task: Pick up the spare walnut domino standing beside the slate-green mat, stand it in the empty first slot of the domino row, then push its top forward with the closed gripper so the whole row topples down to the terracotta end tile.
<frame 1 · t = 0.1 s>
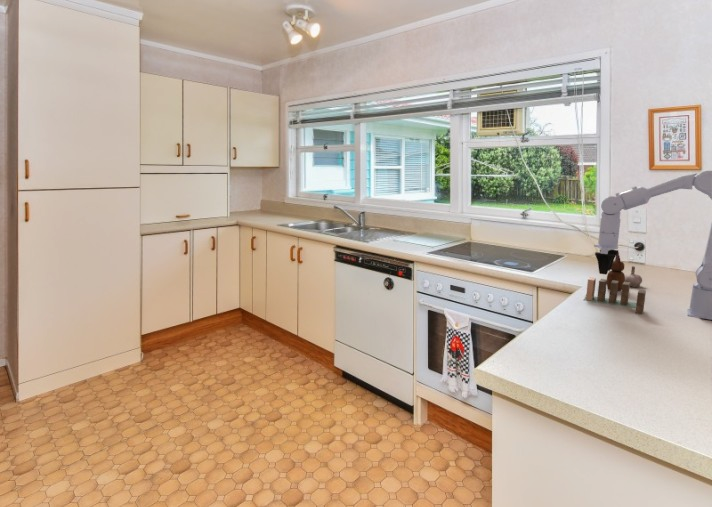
hand: (604, 272, 147), 10 cm above the countertop, tool pointing down, fingers open, 7 cm apart
garlic bulb: (630, 286, 171), on the countertop
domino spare: (639, 313, 135), on the countertop
domino 3: (612, 301, 146), resting on mat
domino 4: (601, 300, 148), resting on mat
domino end: (589, 298, 150), resting on mat
wooden figurine: (614, 290, 163), on the countertop
mat: (612, 302, 146), on the countertop
domino 2: (624, 303, 144), resting on mat
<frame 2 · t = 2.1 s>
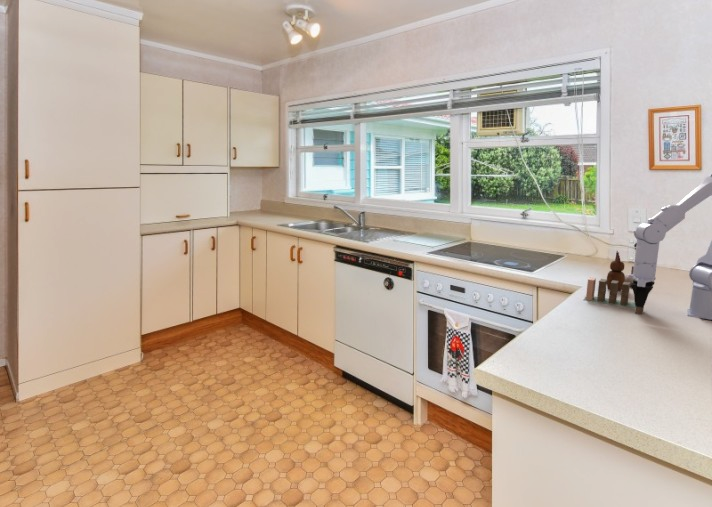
hand: (640, 305, 135), 3 cm above the countertop, tool pointing down, fingers closed on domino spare, 4 cm apart
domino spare: (639, 313, 135), on the countertop, touching gripper
everything else where it was.
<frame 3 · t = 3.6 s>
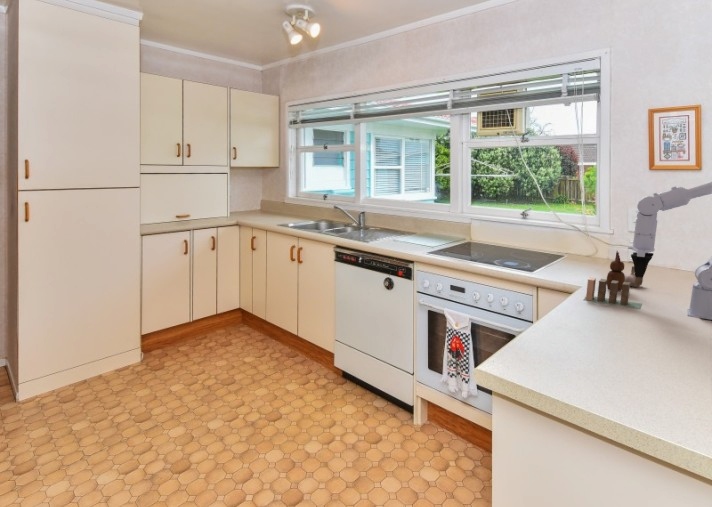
hand: (639, 275, 141), 10 cm above the countertop, tool pointing down, fingers closed on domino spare, 4 cm apart
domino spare: (638, 283, 141), point 8 cm above the countertop, touching gripper
everything else where it was.
when the fingers open (4 cm above the countertop, at t = 5.4 s): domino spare stays where it is, resting on mat.
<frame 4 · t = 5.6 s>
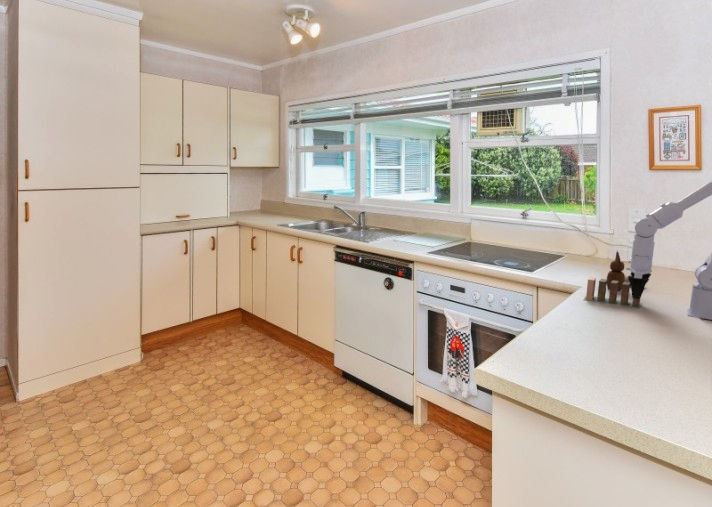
hand: (637, 296, 142), 4 cm above the countertop, tool pointing down, fingers open, 6 cm apart
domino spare: (635, 305, 142), resting on mat
everything else where it was.
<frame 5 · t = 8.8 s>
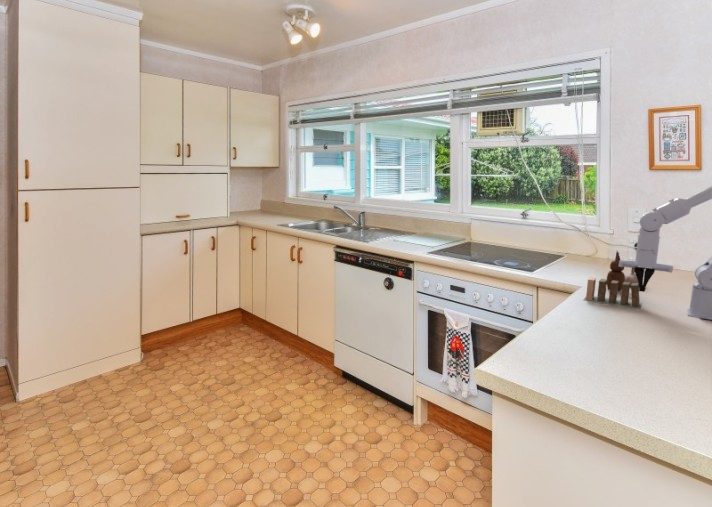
hand: (641, 290, 141), 5 cm above the countertop, tool pointing down, fingers closed
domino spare: (635, 305, 142), resting on mat, tilted 8°, touching gripper
everything else where it was.
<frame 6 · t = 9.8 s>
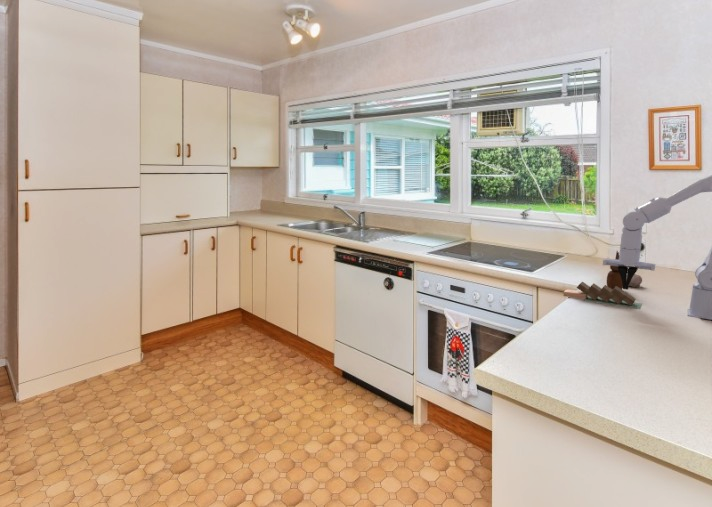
hand: (625, 288, 144), 5 cm above the countertop, tool pointing down, fingers closed
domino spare: (633, 302, 143), point 1 cm above the countertop, tilted 59°, touching domino 2
domino 3: (609, 299, 147), point 1 cm above the countertop, tilted 59°, touching domino 2, domino 4, mat
domino 4: (597, 297, 149), point 1 cm above the countertop, tilted 59°, touching domino 3, domino end
domino end: (586, 295, 151), point 1 cm above the countertop, tilted 93°, touching domino 4, mat
domino 2: (621, 301, 145), point 1 cm above the countertop, tilted 59°, touching domino 3, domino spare, mat
everything else where it was.
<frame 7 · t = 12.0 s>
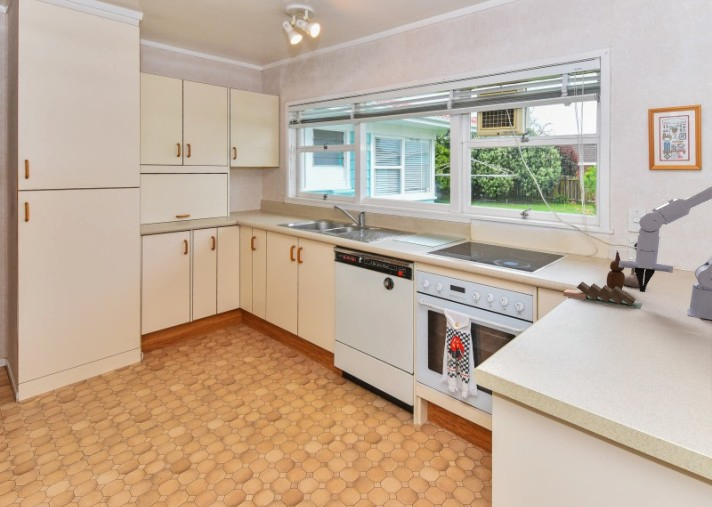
hand: (642, 291, 141), 5 cm above the countertop, tool pointing down, fingers closed
nothing on the countertop moved.
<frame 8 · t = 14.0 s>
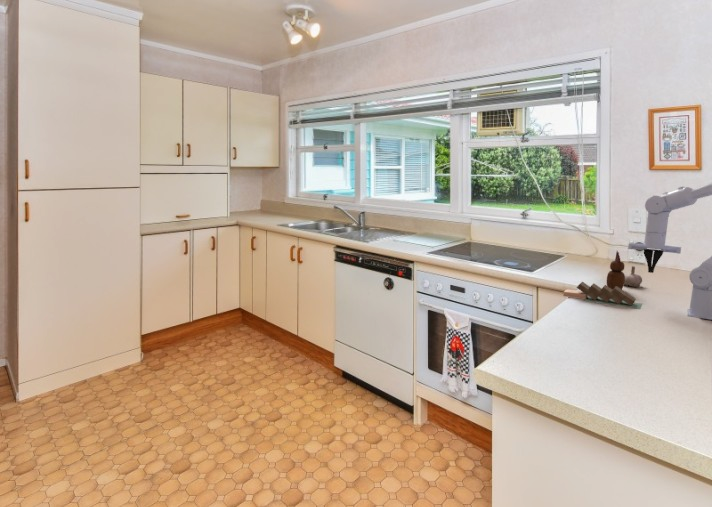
hand: (650, 272, 146), 10 cm above the countertop, tool pointing down, fingers closed
nothing on the countertop moved.
at the end: domino end tilted 93°; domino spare tilted 59°; the gripper is holding nothing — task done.
